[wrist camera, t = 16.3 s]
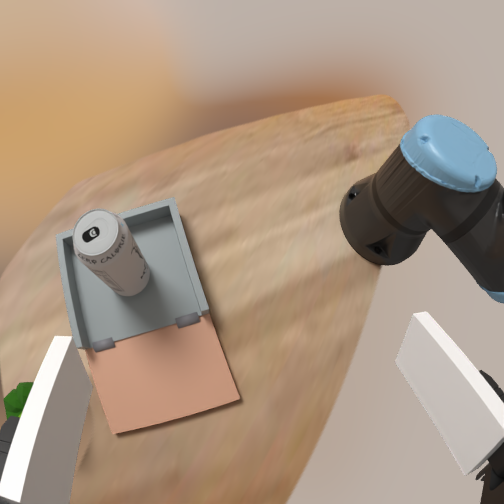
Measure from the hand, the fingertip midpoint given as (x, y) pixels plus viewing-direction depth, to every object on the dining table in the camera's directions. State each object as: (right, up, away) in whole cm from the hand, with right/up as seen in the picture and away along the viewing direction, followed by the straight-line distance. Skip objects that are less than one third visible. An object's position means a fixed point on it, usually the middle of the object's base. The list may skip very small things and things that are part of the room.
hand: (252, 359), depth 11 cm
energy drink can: (-17, +1, +30) cm, 35 cm away
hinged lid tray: (-15, -5, +30) cm, 34 cm away
